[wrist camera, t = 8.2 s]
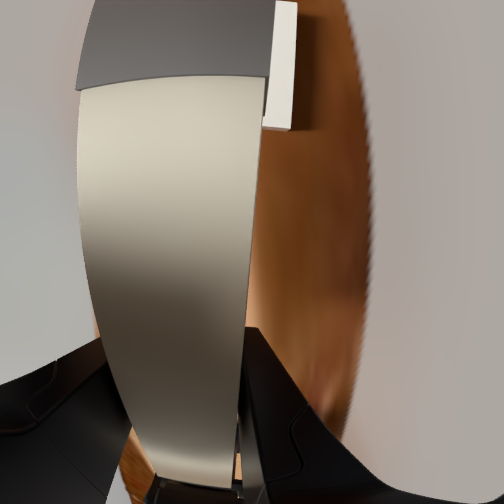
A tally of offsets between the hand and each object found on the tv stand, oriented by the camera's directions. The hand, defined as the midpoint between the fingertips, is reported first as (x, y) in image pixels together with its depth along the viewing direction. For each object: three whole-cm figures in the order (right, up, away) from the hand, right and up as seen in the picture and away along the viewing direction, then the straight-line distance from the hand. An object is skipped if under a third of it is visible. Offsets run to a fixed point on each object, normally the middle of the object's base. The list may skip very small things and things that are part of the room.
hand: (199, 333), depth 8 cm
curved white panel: (0, +2, 0) cm, 2 cm away
